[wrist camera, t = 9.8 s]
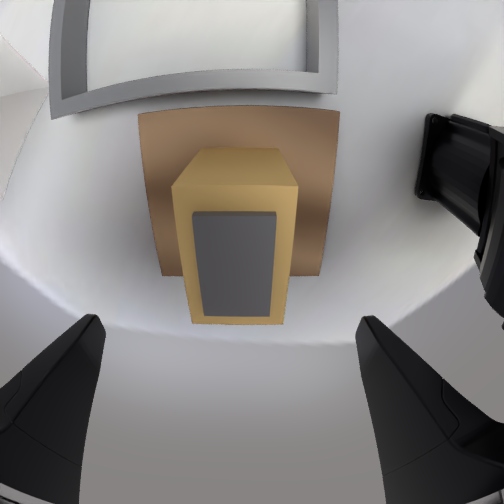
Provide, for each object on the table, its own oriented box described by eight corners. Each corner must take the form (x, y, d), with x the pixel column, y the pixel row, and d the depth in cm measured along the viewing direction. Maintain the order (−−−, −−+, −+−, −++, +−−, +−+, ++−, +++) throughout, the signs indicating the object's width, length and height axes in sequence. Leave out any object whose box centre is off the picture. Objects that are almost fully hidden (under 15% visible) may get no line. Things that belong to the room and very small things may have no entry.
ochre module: (272, 248, 19) (283, 330, 13) (208, 248, 19) (191, 329, 13) (278, 147, 15) (300, 190, 9) (201, 148, 15) (168, 190, 9)
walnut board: (317, 271, 21) (318, 275, 20) (164, 271, 21) (162, 275, 20) (336, 110, 14) (339, 111, 14) (141, 113, 14) (137, 114, 14)
